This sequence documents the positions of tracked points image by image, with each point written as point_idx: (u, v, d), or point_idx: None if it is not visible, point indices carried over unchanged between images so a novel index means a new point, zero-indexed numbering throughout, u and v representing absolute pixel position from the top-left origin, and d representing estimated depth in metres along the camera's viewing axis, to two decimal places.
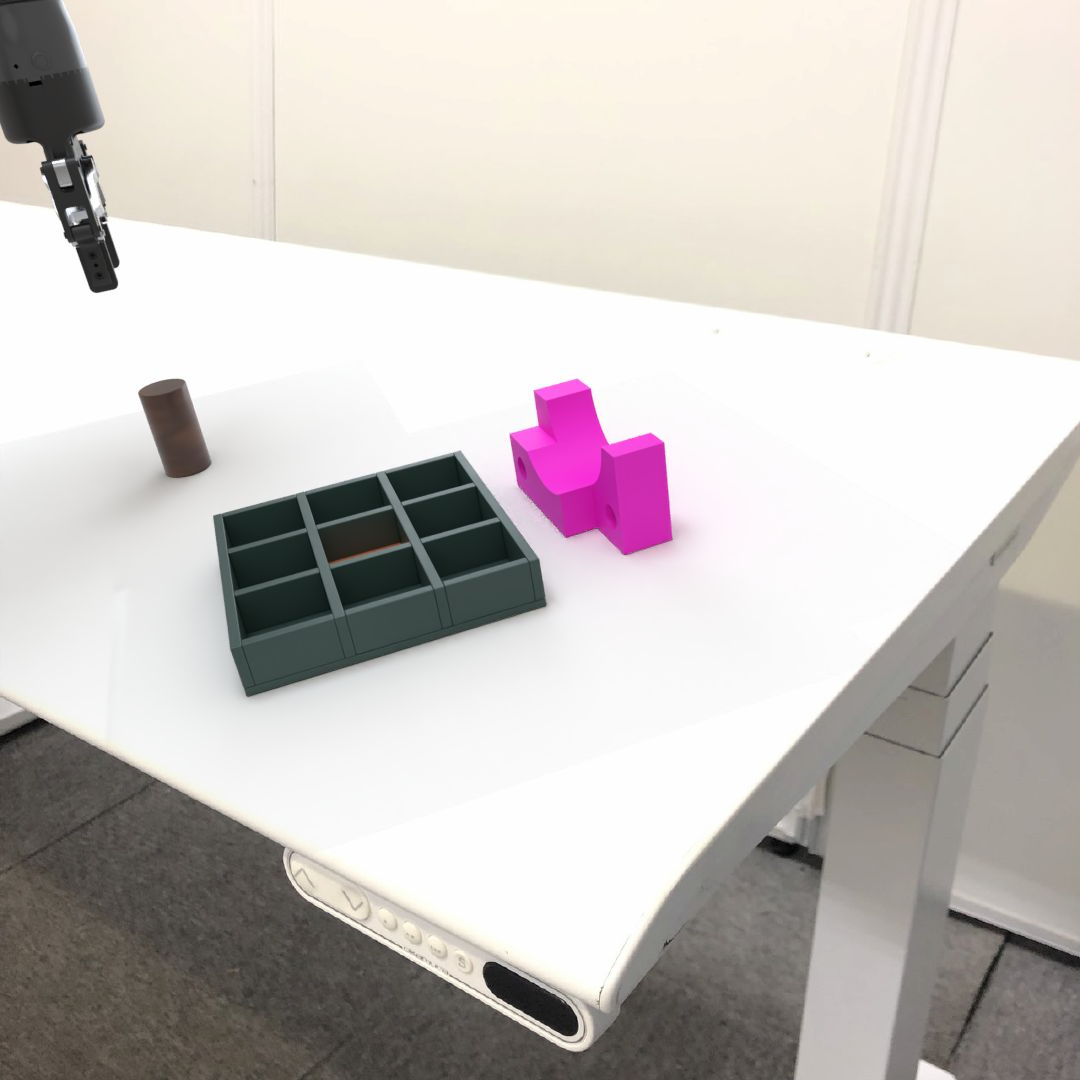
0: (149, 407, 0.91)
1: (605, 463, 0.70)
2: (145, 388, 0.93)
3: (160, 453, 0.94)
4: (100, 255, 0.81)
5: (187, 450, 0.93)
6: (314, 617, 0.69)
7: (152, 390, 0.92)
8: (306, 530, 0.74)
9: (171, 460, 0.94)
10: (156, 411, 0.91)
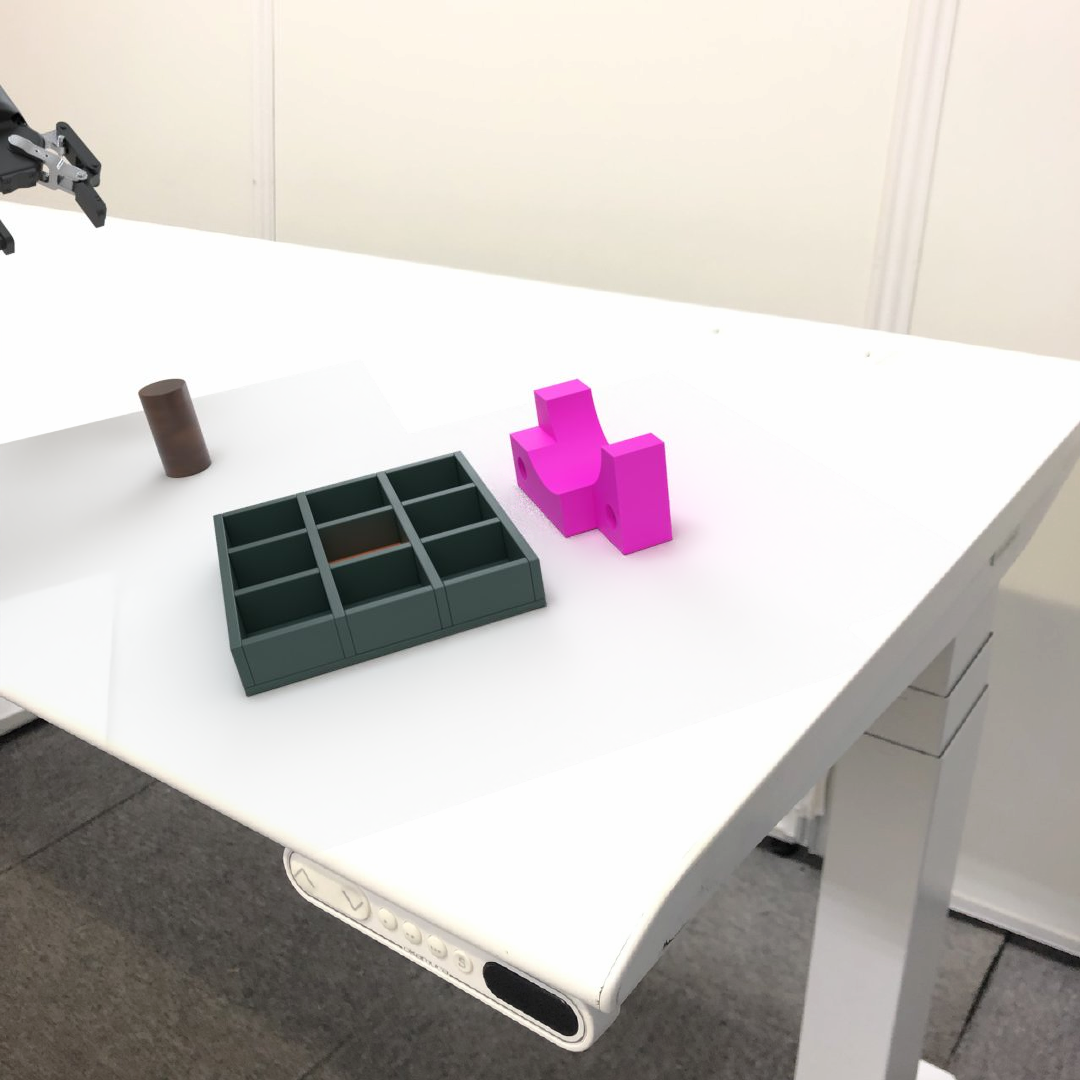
0: (149, 407, 0.91)
1: (605, 463, 0.70)
2: (145, 388, 0.93)
3: (160, 453, 0.94)
4: None
5: (187, 450, 0.93)
6: (314, 617, 0.69)
7: (152, 390, 0.92)
8: (306, 530, 0.74)
9: (171, 460, 0.94)
10: (156, 411, 0.91)
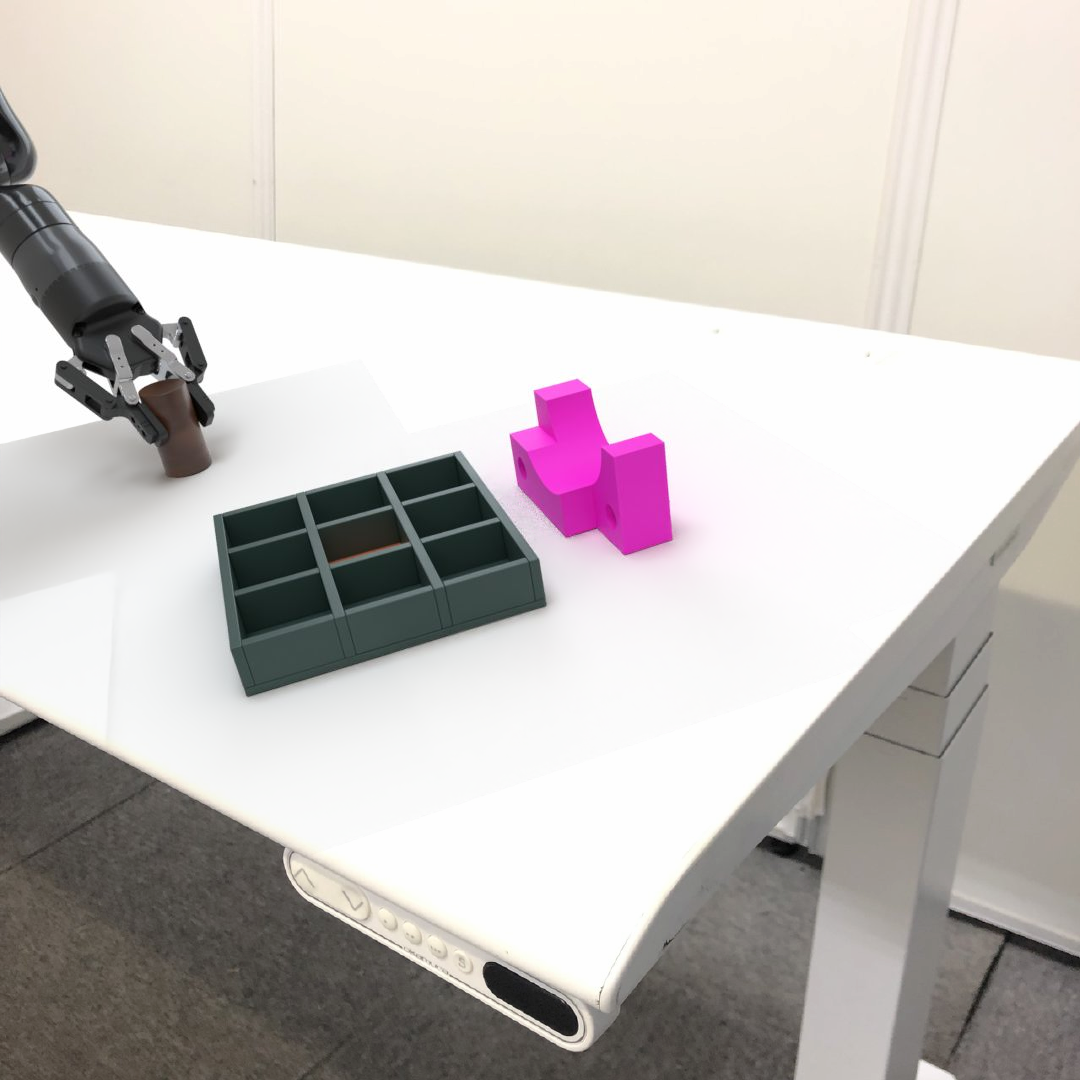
0: (149, 407, 0.91)
1: (605, 463, 0.70)
2: (145, 388, 0.93)
3: (160, 453, 0.94)
4: None
5: (187, 450, 0.93)
6: (314, 617, 0.69)
7: (151, 390, 0.92)
8: (306, 530, 0.74)
9: (171, 460, 0.94)
10: (156, 411, 0.91)
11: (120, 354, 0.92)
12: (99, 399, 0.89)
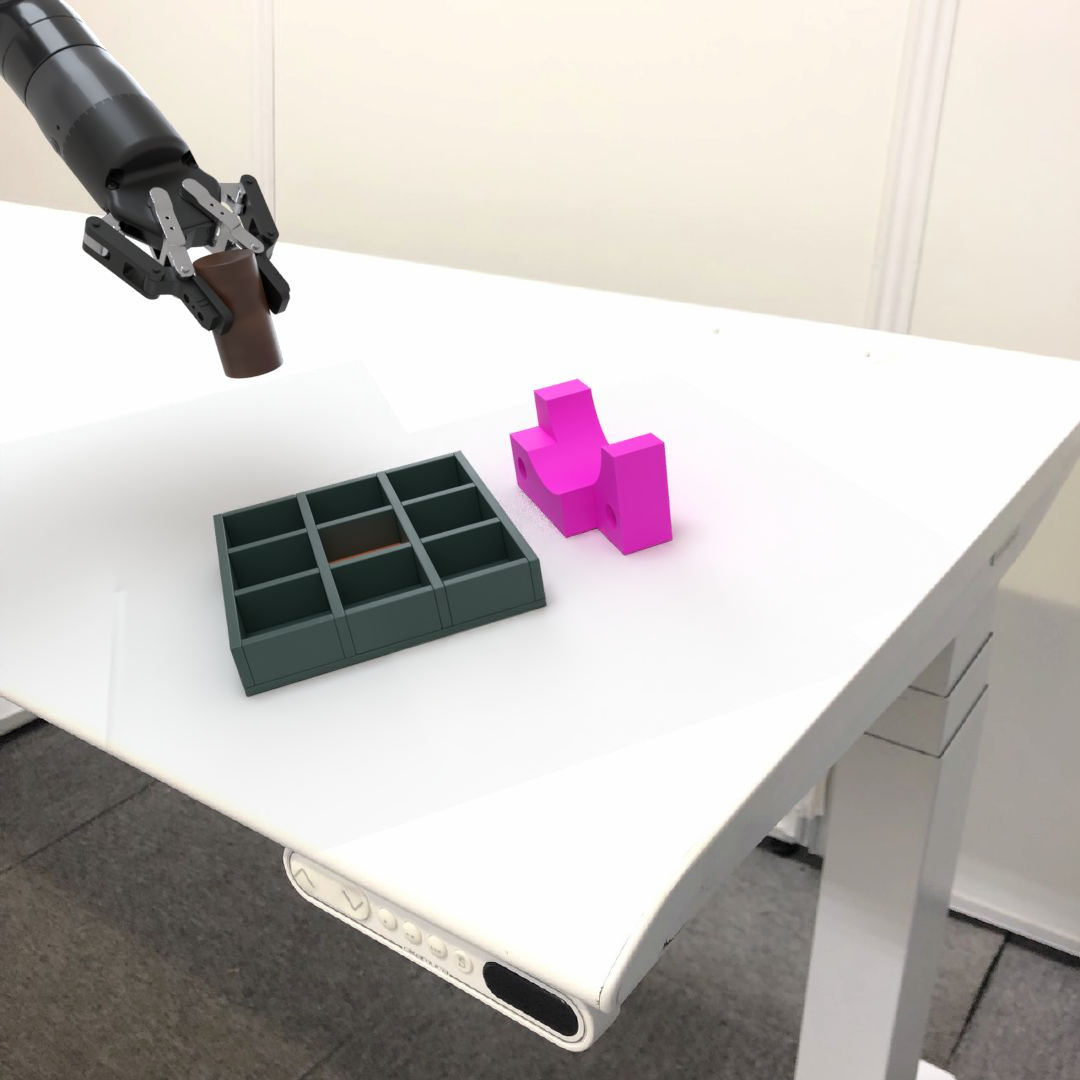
0: (208, 281, 0.69)
1: (605, 463, 0.70)
2: (201, 259, 0.71)
3: (219, 346, 0.72)
4: None
5: (256, 341, 0.71)
6: (314, 617, 0.69)
7: (210, 261, 0.70)
8: (306, 530, 0.74)
9: (234, 355, 0.72)
10: (216, 287, 0.69)
11: (169, 213, 0.70)
12: (143, 268, 0.67)
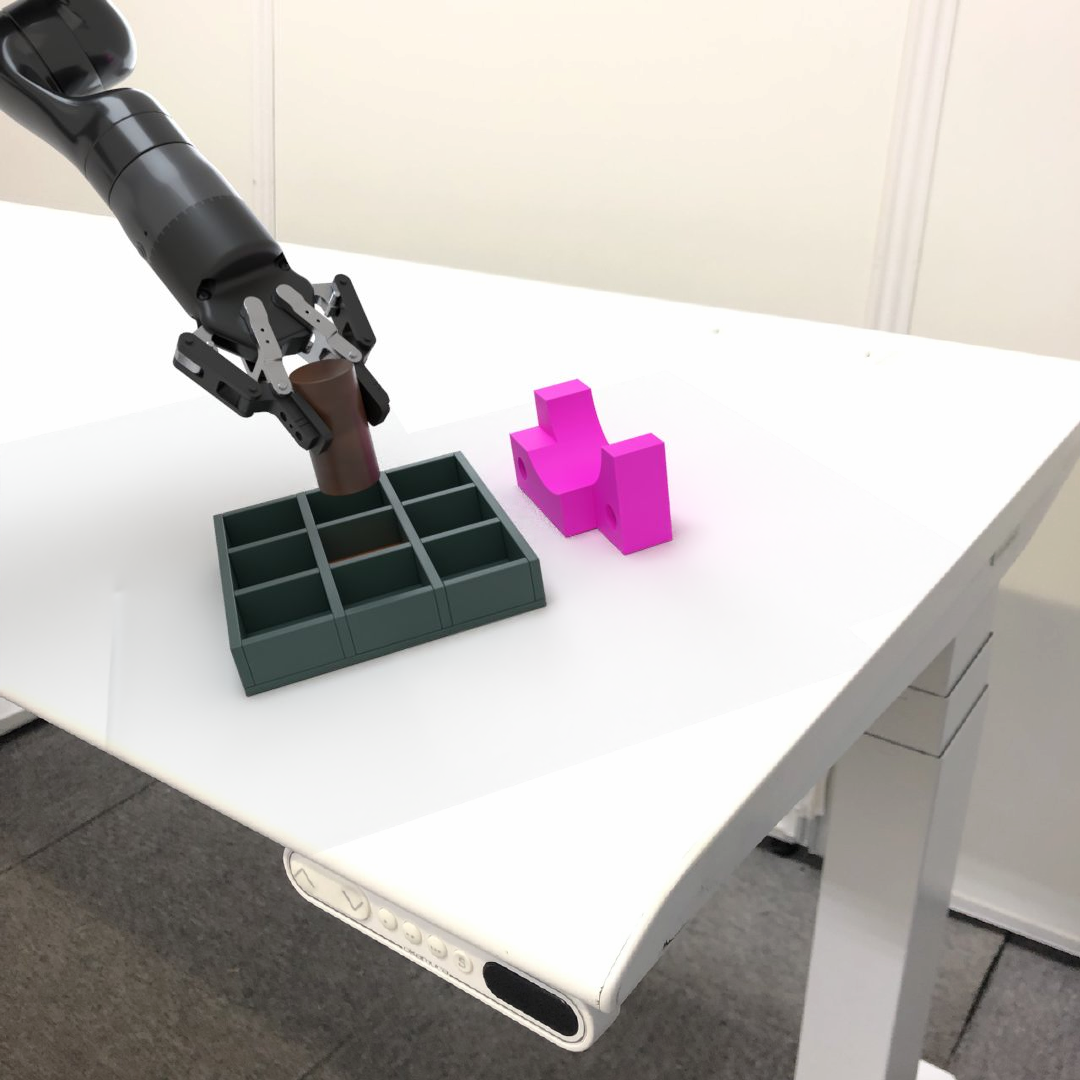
0: (306, 398, 0.65)
1: (605, 463, 0.70)
2: (297, 372, 0.66)
3: (316, 463, 0.67)
4: None
5: (355, 458, 0.67)
6: (314, 617, 0.69)
7: (308, 375, 0.65)
8: (306, 530, 0.74)
9: (331, 472, 0.67)
10: (315, 404, 0.65)
11: (264, 324, 0.65)
12: (239, 387, 0.63)
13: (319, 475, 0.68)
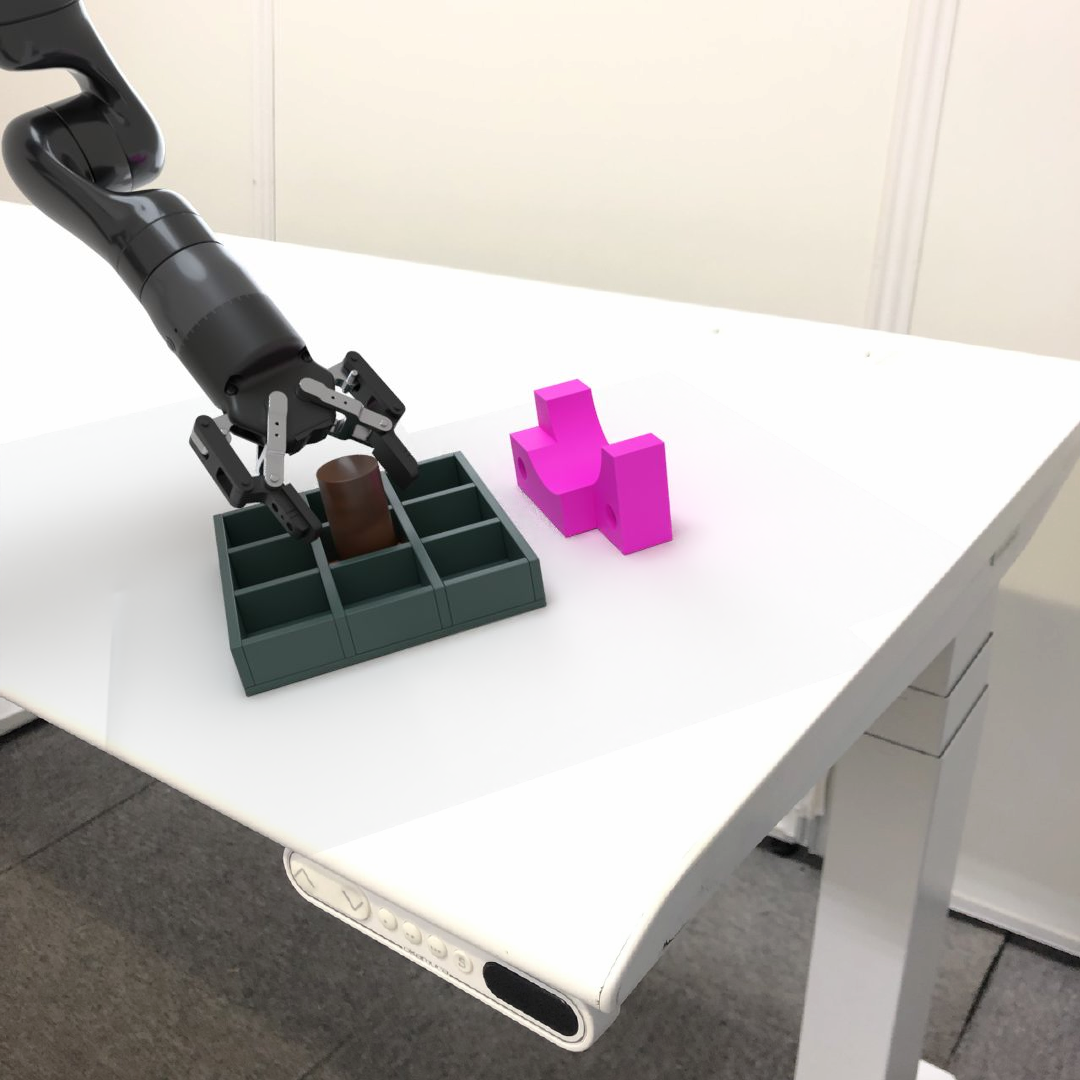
0: (333, 496, 0.68)
1: (605, 463, 0.70)
2: (324, 469, 0.70)
3: (340, 553, 0.71)
4: None
5: (378, 550, 0.70)
6: (314, 617, 0.69)
7: (335, 473, 0.69)
8: None
9: None
10: (341, 501, 0.68)
11: (281, 419, 0.68)
12: (233, 477, 0.65)
13: None
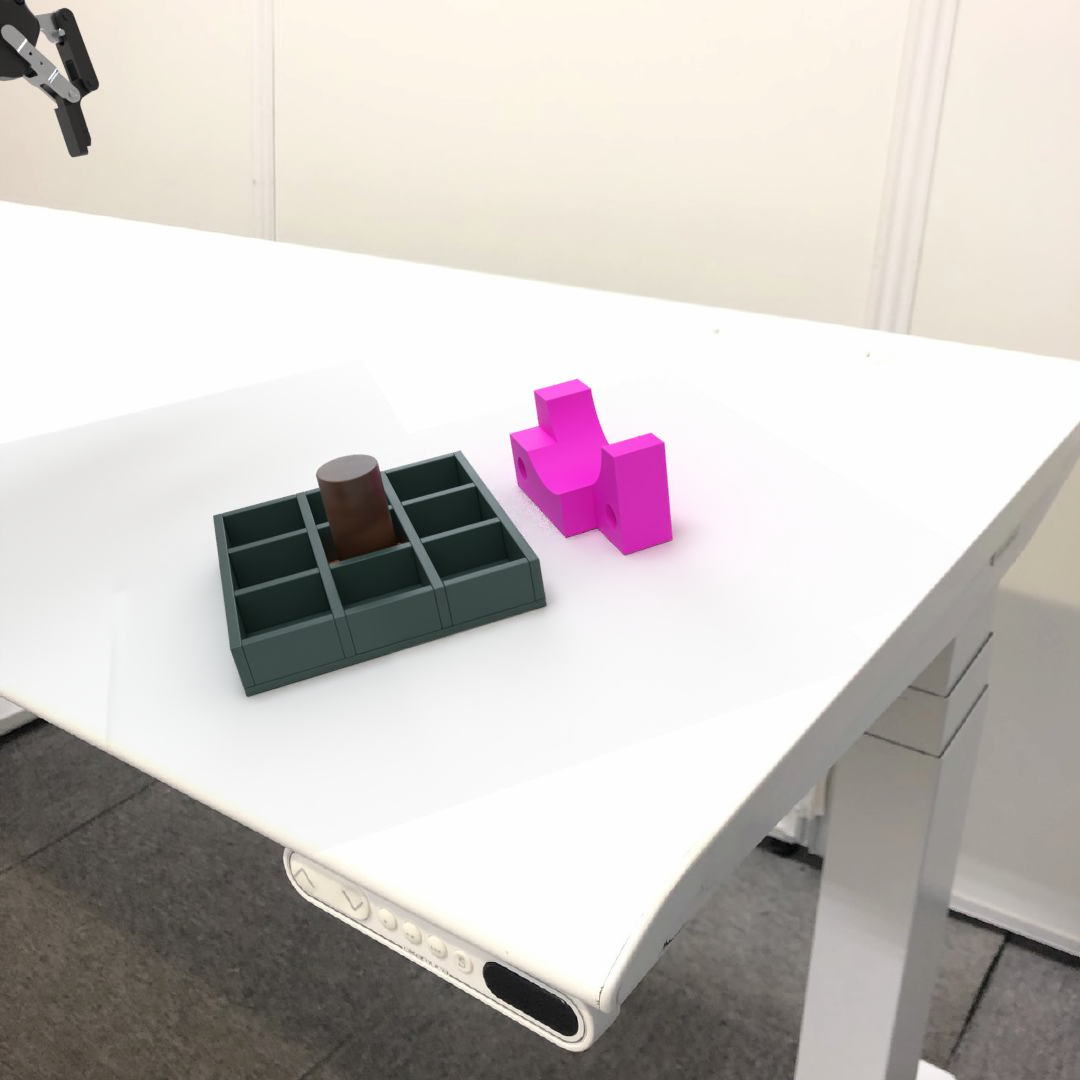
0: (333, 496, 0.68)
1: (605, 463, 0.70)
2: (324, 469, 0.70)
3: (340, 553, 0.71)
4: None
5: (378, 550, 0.70)
6: (314, 617, 0.69)
7: (335, 473, 0.69)
8: (306, 530, 0.74)
9: None
10: (341, 501, 0.68)
11: None
12: None
13: None
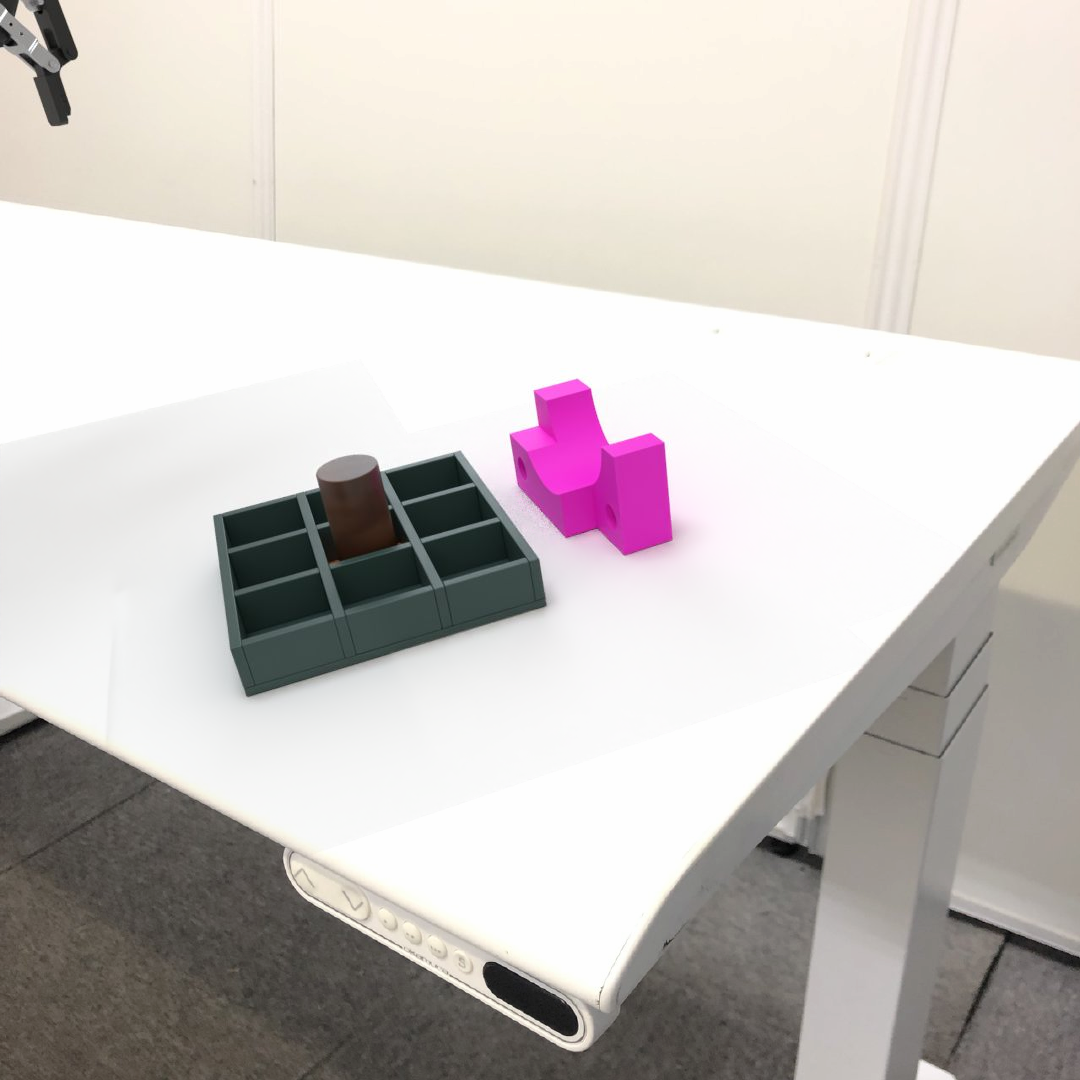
0: (333, 496, 0.68)
1: (605, 463, 0.70)
2: (324, 469, 0.70)
3: (340, 553, 0.71)
4: None
5: (378, 550, 0.70)
6: (314, 617, 0.69)
7: (335, 473, 0.69)
8: (306, 530, 0.74)
9: None
10: (341, 501, 0.68)
11: None
12: None
13: None
